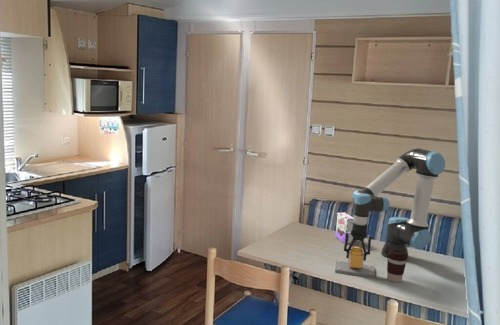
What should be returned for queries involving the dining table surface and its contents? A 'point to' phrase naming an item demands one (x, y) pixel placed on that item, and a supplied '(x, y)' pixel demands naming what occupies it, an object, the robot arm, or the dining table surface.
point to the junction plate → (354, 269)
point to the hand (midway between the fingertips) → (355, 265)
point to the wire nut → (356, 257)
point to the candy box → (343, 227)
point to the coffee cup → (396, 265)
